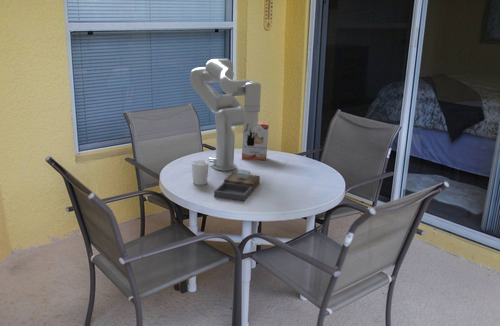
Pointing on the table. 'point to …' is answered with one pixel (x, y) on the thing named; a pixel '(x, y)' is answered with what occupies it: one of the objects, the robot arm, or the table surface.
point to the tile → (243, 174)
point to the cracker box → (256, 144)
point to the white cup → (200, 172)
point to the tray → (233, 192)
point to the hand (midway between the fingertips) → (250, 145)
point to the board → (243, 180)
